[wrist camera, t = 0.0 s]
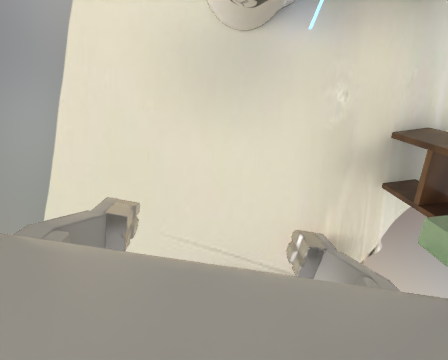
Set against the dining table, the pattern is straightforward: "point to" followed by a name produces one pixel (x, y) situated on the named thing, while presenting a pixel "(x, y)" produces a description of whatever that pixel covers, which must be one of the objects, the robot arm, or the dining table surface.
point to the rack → (425, 173)
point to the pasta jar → (435, 237)
